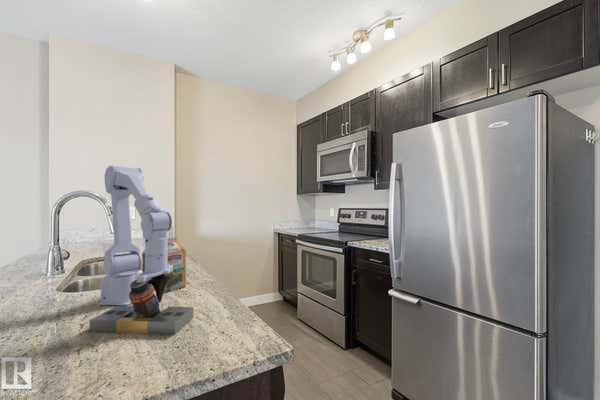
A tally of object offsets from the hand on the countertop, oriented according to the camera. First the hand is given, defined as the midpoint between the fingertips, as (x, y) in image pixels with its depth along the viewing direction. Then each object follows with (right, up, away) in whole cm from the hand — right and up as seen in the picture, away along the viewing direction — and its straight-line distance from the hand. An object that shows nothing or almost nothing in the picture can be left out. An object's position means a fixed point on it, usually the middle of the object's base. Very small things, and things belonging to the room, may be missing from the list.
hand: (156, 302), depth 80 cm
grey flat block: (0, -4, -6) cm, 7 cm away
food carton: (-10, -5, +26) cm, 28 cm away
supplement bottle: (0, -3, -3) cm, 4 cm away
